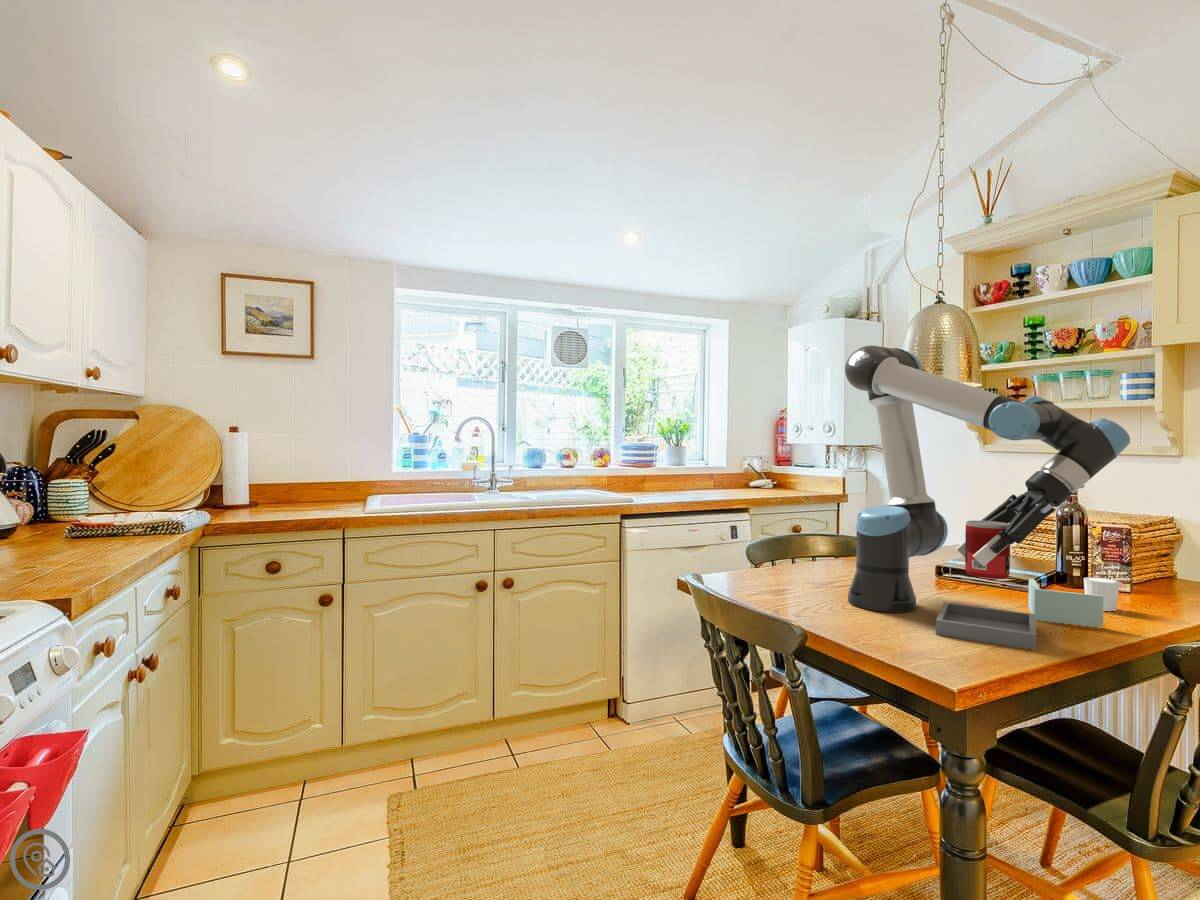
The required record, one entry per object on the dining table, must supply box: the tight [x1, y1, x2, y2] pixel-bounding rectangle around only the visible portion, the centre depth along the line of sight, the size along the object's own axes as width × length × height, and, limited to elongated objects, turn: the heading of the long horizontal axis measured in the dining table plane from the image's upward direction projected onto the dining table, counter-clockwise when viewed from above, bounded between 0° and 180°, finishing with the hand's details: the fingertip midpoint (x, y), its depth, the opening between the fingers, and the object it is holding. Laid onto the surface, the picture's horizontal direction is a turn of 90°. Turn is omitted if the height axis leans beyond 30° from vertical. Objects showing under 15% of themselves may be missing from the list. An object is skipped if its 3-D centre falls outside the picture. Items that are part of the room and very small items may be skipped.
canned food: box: [964, 520, 1011, 580], centre depth 130 cm, size 8×8×11 cm
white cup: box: [1083, 576, 1121, 612], centre depth 148 cm, size 7×7×7 cm
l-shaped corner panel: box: [1027, 578, 1104, 629], centre depth 141 cm, size 12×12×8 cm
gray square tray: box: [935, 601, 1037, 651], centre depth 131 cm, size 17×17×3 cm
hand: (969, 557), depth 131 cm, fingers closed on canned food, 8 cm apart
